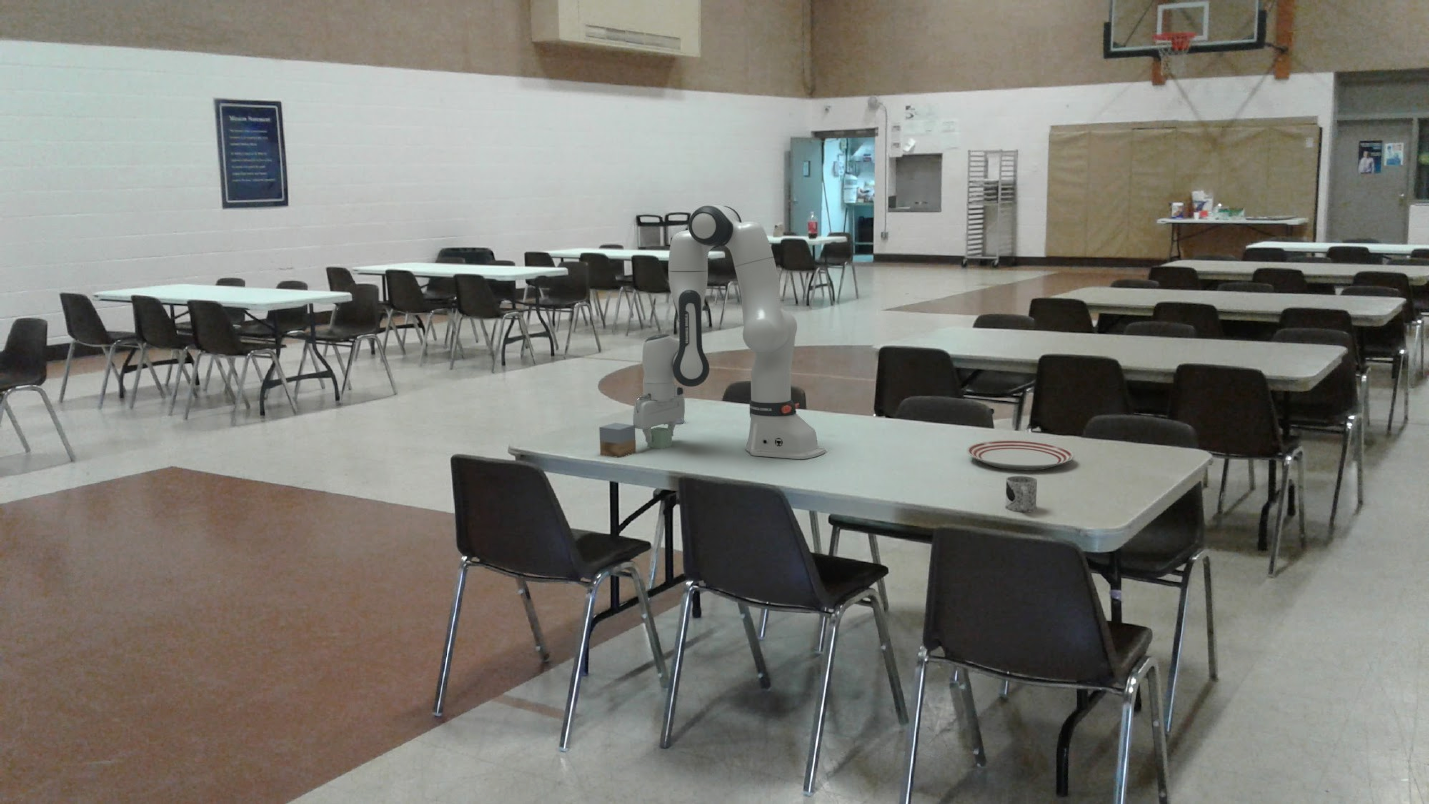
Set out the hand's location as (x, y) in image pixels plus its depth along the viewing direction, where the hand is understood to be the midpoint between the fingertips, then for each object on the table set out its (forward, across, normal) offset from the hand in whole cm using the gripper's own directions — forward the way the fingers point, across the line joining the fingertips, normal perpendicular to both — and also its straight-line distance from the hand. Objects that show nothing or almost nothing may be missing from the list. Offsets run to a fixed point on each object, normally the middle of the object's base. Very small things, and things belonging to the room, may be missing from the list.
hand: (659, 439), depth 332 cm
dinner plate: (+2, +33, -94) cm, 100 cm away
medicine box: (+2, +30, +18) cm, 35 cm away
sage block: (+2, 0, 0) cm, 2 cm away
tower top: (-2, -14, +4) cm, 15 cm away
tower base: (+2, -14, +4) cm, 15 cm away
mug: (+2, -13, -111) cm, 112 cm away
